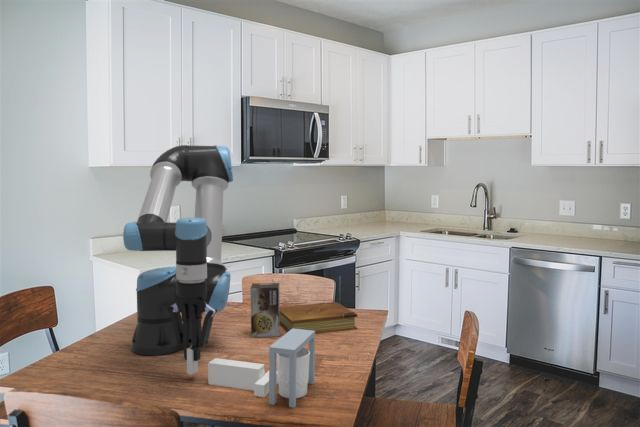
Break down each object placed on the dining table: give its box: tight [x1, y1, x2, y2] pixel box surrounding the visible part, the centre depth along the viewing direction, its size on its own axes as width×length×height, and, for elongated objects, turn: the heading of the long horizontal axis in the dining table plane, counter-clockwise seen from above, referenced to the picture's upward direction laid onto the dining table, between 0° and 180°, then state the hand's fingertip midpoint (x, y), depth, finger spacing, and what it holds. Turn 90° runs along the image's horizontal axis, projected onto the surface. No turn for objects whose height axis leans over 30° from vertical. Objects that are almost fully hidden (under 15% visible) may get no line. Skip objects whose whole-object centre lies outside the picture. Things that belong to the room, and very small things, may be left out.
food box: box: [249, 282, 281, 338], centre depth 171 cm, size 9×6×16 cm
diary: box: [280, 301, 358, 335], centre depth 183 cm, size 23×19×6 cm
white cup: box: [276, 347, 310, 399], centre depth 127 cm, size 8×8×10 cm
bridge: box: [268, 328, 316, 409], centre depth 126 cm, size 6×15×13 cm, turn 163°
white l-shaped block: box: [207, 357, 279, 398], centre depth 131 cm, size 16×9×6 cm, turn 73°
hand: (192, 372), depth 135 cm, fingers closed
